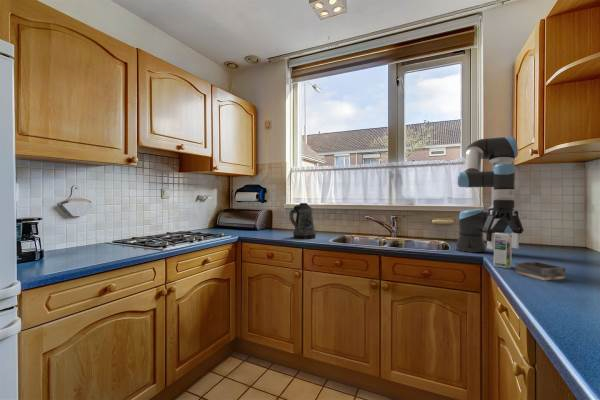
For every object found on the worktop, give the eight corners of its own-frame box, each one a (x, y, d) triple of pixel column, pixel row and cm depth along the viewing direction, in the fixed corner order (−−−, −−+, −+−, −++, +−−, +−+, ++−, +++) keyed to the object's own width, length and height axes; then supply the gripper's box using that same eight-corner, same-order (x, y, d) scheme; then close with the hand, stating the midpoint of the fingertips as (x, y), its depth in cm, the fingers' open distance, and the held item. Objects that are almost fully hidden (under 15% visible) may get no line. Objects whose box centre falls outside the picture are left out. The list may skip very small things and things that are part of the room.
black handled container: (319, 237, 211) (320, 203, 211) (306, 240, 194) (306, 203, 194) (300, 235, 220) (301, 202, 219) (286, 238, 203) (286, 203, 203)
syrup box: (493, 266, 125) (493, 233, 124) (496, 264, 129) (496, 232, 129) (509, 268, 120) (509, 234, 120) (511, 266, 125) (512, 233, 125)
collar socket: (535, 271, 117) (535, 261, 117) (565, 278, 106) (565, 267, 106) (515, 272, 114) (515, 262, 114) (544, 280, 104) (544, 269, 104)
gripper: (488, 199, 117) (487, 250, 117) (534, 200, 124) (533, 249, 124) (473, 199, 125) (472, 247, 125) (517, 200, 131) (516, 246, 131)
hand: (502, 248), depth 124 cm, fingers open, 13 cm apart
